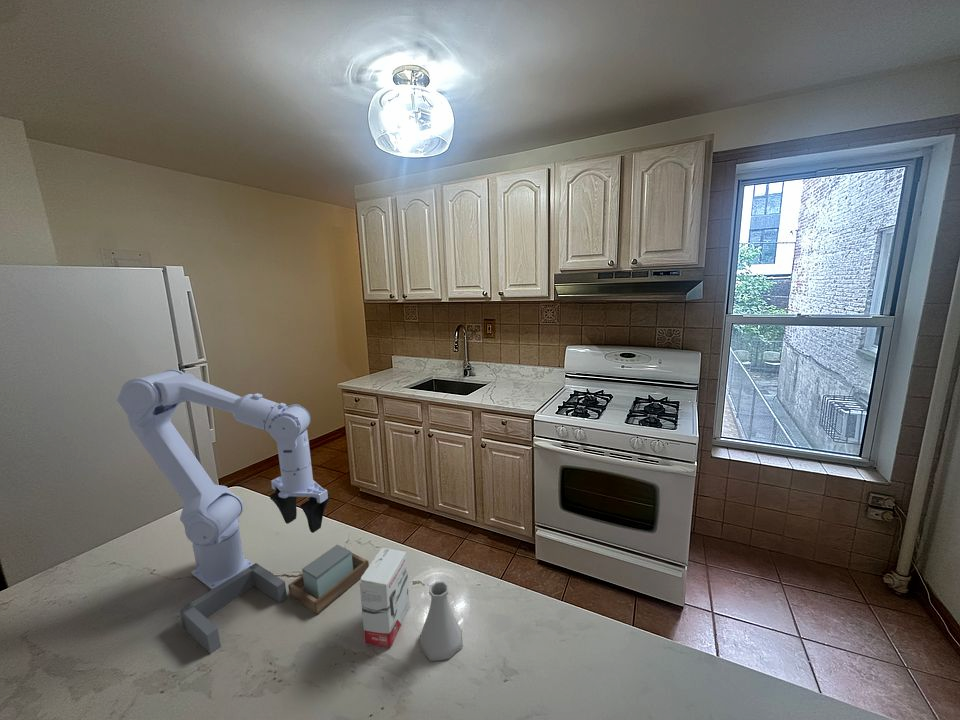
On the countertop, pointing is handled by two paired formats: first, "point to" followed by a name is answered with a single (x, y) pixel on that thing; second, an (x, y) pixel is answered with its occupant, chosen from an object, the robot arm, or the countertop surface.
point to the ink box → (384, 596)
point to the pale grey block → (327, 571)
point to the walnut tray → (332, 594)
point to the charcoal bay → (221, 596)
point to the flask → (440, 626)
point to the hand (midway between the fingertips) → (303, 525)
